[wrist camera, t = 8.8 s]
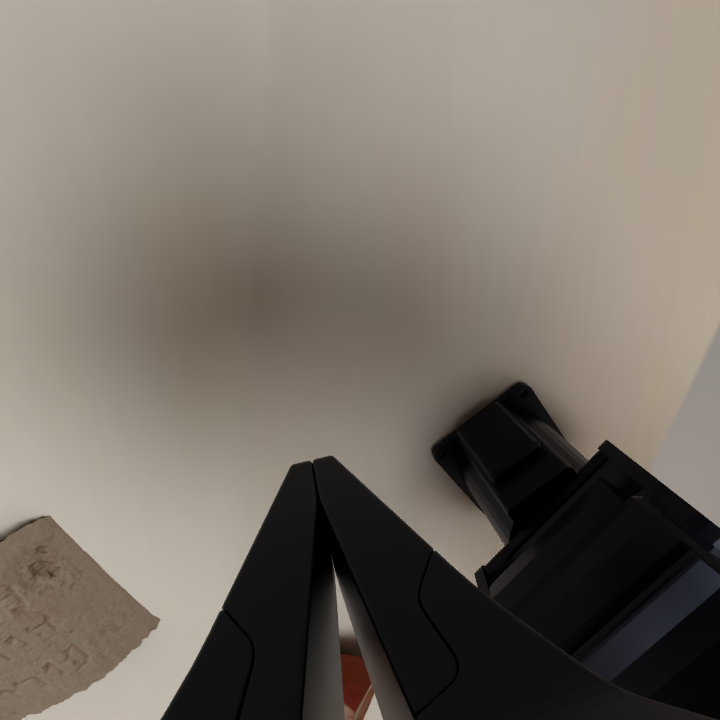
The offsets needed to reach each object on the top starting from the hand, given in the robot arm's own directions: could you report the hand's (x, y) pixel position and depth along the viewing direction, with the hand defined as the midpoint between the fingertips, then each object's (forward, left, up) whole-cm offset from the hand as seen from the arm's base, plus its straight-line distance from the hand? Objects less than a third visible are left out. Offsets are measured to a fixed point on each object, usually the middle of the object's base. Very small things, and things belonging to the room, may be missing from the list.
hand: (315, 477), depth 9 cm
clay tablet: (-3, +23, -13) cm, 27 cm away
